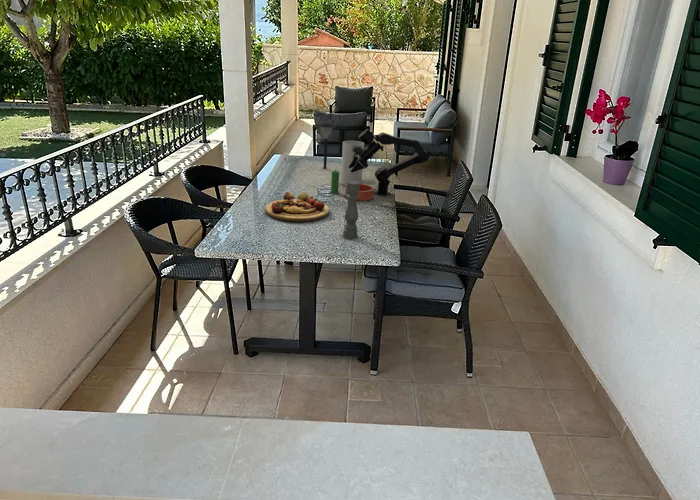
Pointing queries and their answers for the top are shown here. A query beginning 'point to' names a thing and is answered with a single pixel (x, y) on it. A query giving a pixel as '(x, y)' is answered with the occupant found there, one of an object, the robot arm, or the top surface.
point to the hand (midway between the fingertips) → (349, 169)
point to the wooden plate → (297, 208)
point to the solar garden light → (326, 130)
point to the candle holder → (351, 210)
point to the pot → (363, 192)
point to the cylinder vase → (346, 161)
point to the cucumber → (335, 182)
